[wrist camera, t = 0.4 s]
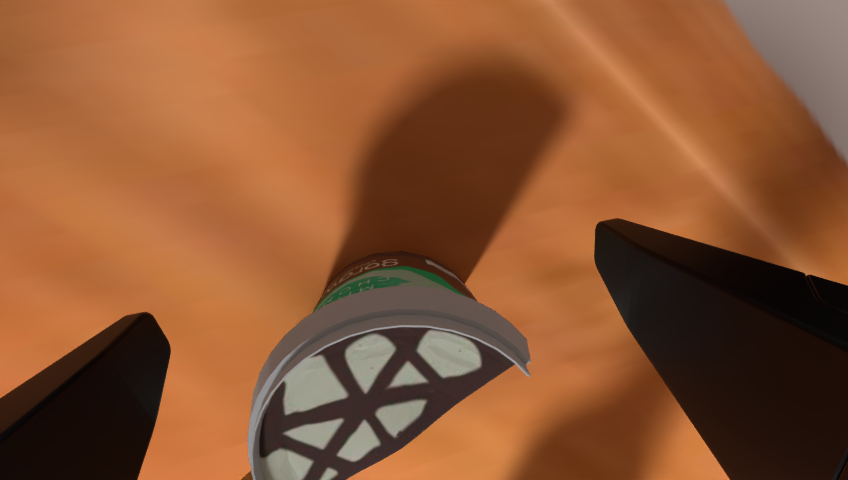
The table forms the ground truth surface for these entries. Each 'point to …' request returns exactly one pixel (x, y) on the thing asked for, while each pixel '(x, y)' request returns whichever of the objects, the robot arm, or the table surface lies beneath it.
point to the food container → (374, 368)
